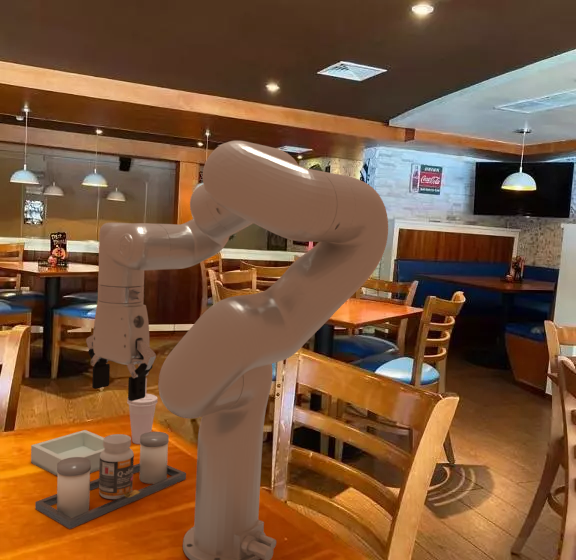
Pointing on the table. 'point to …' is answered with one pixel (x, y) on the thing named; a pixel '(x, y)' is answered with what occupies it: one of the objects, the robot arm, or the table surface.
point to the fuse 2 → (153, 457)
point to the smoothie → (142, 415)
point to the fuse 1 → (73, 486)
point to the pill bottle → (116, 467)
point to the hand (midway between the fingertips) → (118, 393)
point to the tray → (68, 450)
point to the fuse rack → (129, 497)
